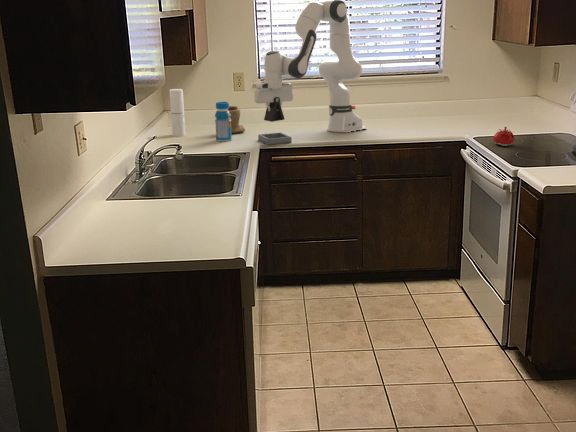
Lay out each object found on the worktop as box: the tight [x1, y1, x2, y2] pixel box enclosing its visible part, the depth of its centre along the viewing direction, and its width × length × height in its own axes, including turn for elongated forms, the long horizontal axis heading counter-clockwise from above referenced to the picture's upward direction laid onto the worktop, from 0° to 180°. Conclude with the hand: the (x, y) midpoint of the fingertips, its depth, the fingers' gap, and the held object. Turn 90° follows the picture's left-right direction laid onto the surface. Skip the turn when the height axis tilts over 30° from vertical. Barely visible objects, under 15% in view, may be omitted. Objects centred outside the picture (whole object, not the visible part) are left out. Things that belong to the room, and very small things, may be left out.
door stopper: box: [263, 97, 285, 123], centre depth 329 cm, size 9×6×12 cm, turn 131°
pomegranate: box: [492, 126, 515, 144], centre depth 316 cm, size 10×10×9 cm
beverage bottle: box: [214, 101, 233, 143], centre depth 336 cm, size 8×8×20 cm
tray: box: [257, 131, 292, 146], centre depth 334 cm, size 13×14×3 cm
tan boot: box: [228, 105, 246, 134], centre depth 356 cm, size 15×12×15 cm
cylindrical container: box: [169, 88, 187, 137], centre depth 351 cm, size 7×7×25 cm
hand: (274, 111), depth 330 cm, fingers closed on door stopper, 3 cm apart
